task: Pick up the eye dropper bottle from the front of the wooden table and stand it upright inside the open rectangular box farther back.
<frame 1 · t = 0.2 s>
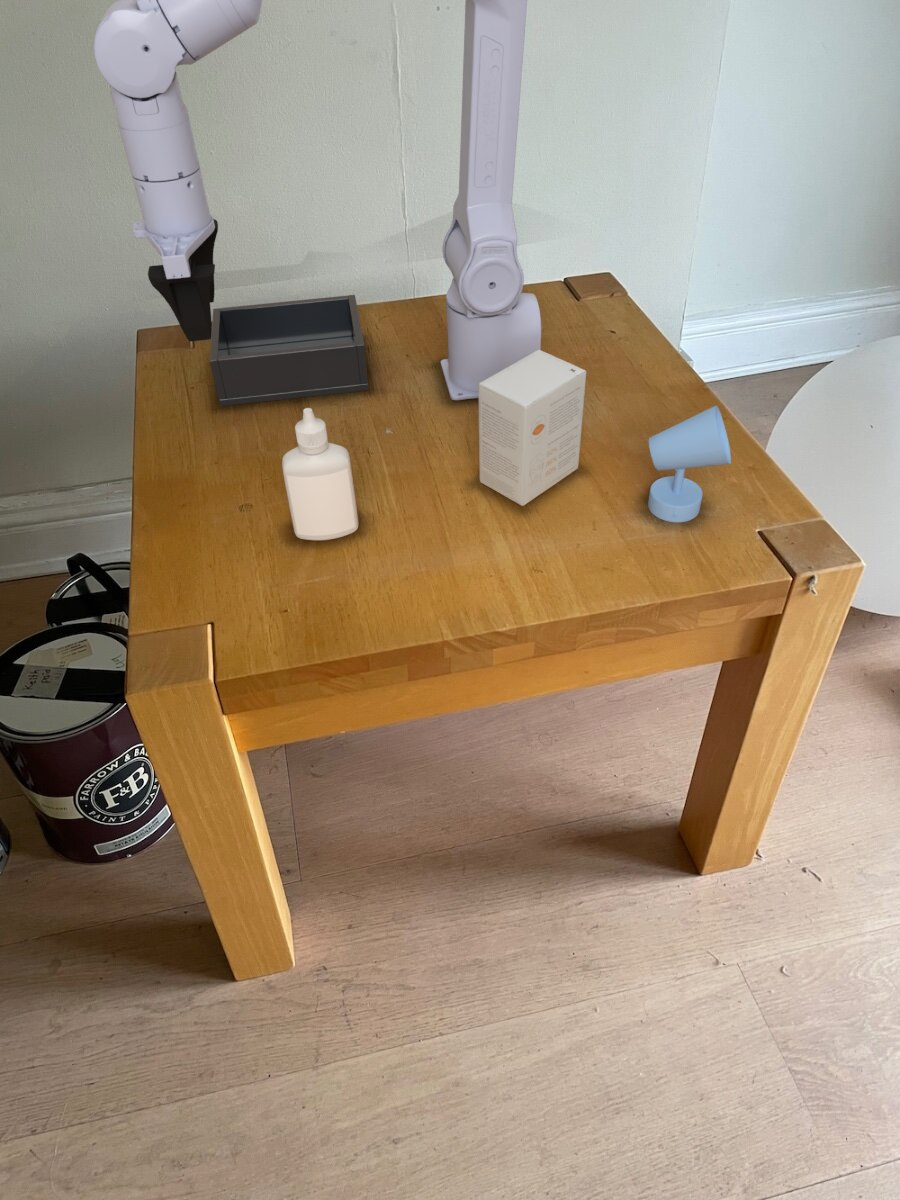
hand: (201, 319, 85), 10 cm above the table, tool pointing down, fingers open, 7 cm apart
open rectangular box: (293, 370, 98), on the table
small box: (528, 478, 83), on the table
eye dropper bottle: (327, 530, 78), on the table
spotlight: (678, 508, 79), on the table
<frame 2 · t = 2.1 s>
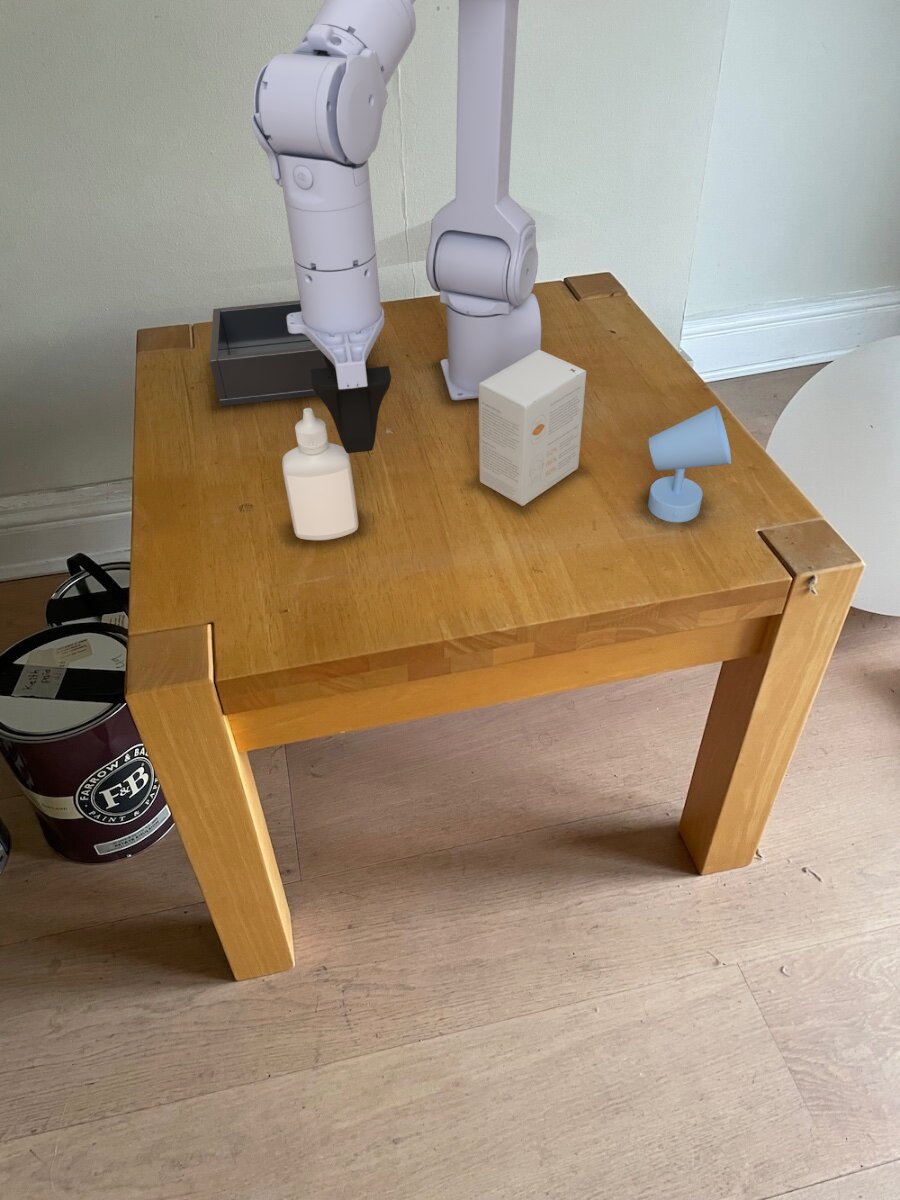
hand: (354, 422, 71), 10 cm above the table, tool pointing down, fingers open, 7 cm apart
nothing on the table moved.
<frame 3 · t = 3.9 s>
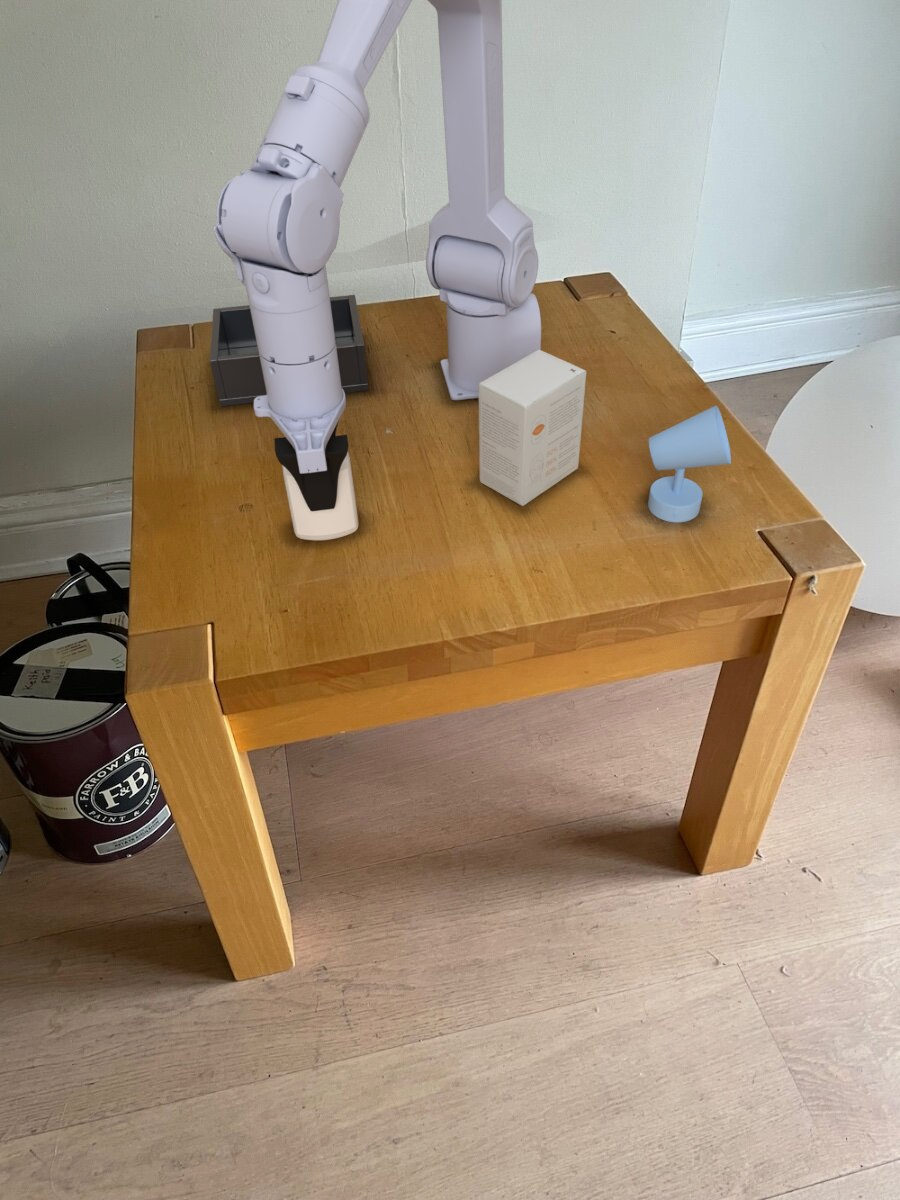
hand: (321, 492, 75), 4 cm above the table, tool pointing down, fingers closed on eye dropper bottle, 3 cm apart
eye dropper bottle: (327, 530, 78), on the table, touching gripper
everything else where it was.
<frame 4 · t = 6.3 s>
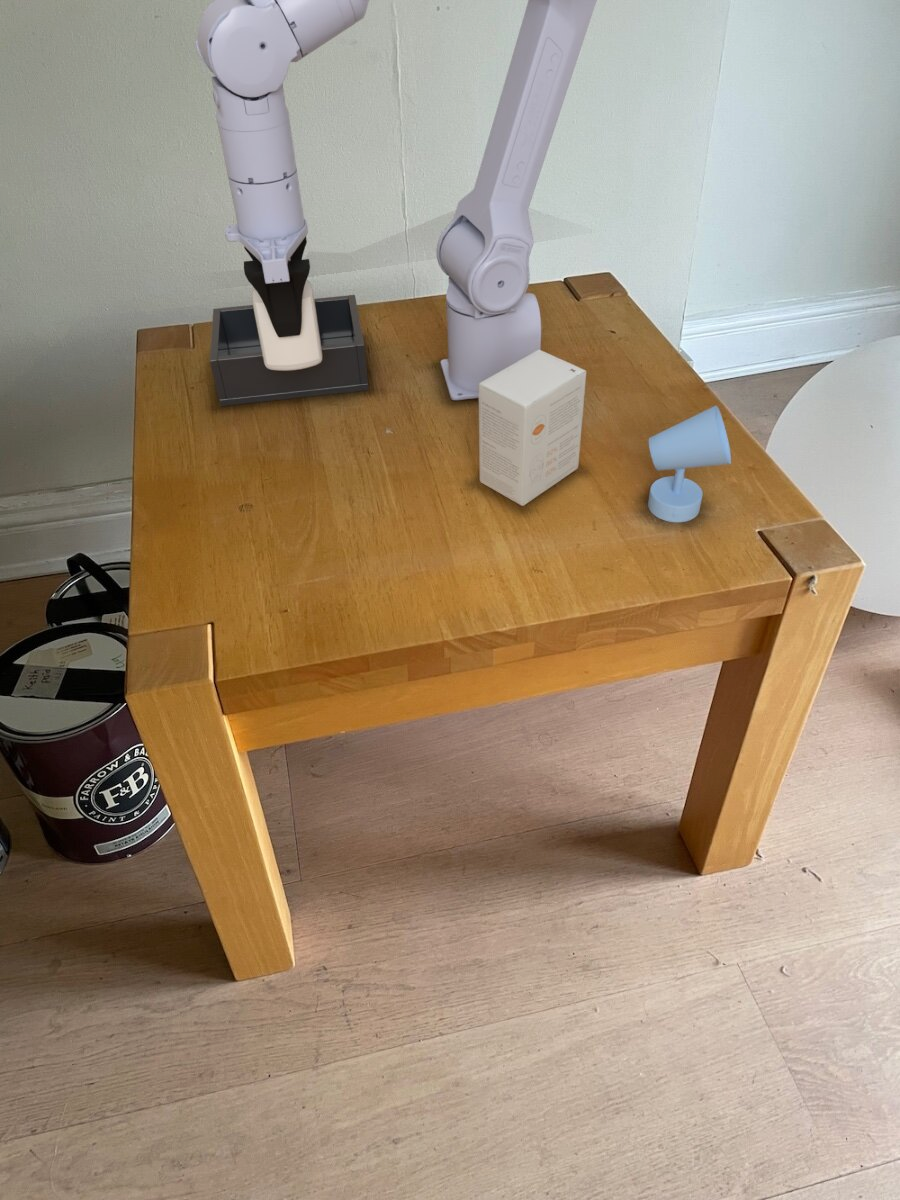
hand: (288, 324, 83), 10 cm above the table, tool pointing down, fingers closed on eye dropper bottle, 3 cm apart
eye dropper bottle: (294, 364, 86), point 6 cm above the table, touching gripper
everything else where it was.
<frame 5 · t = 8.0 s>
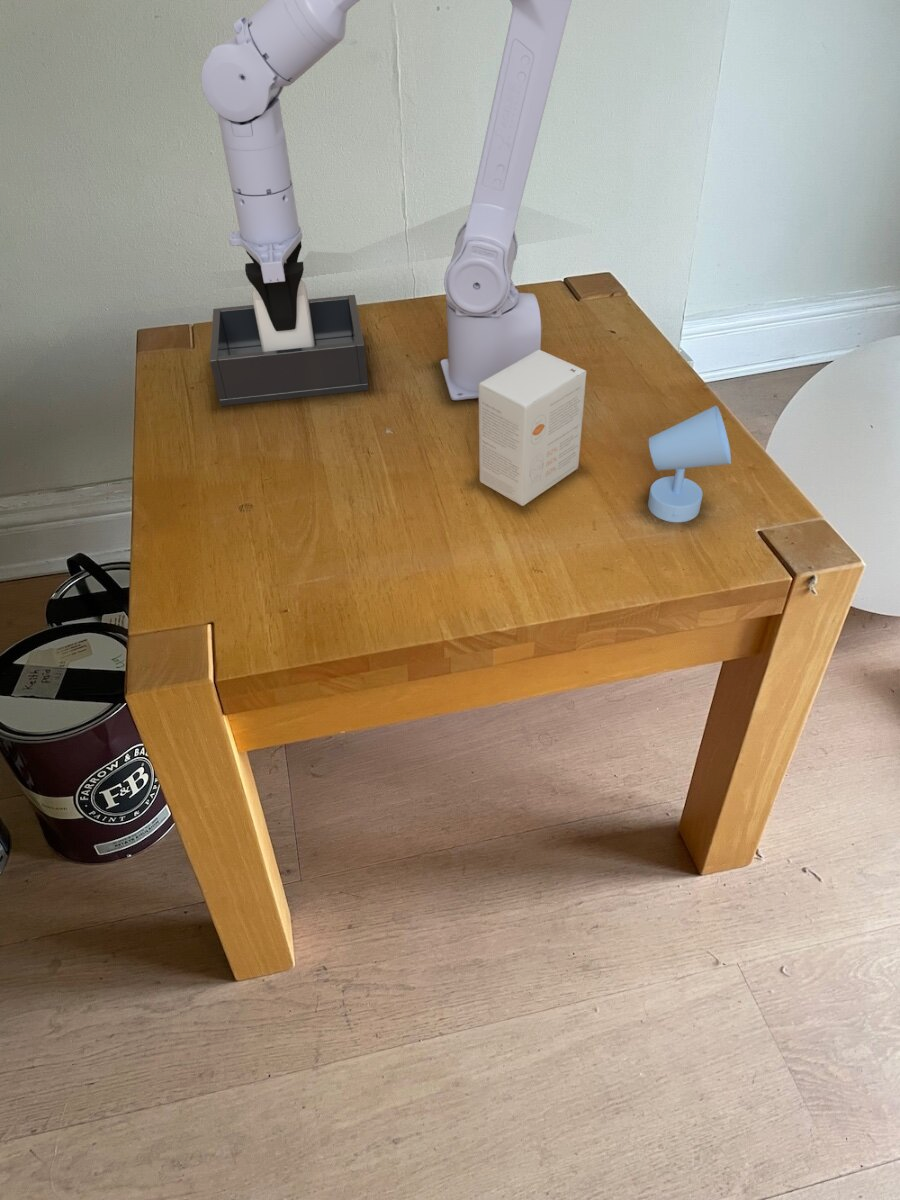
hand: (284, 319, 93), 6 cm above the table, tool pointing down, fingers closed on eye dropper bottle, 3 cm apart
eye dropper bottle: (290, 355, 96), point 2 cm above the table, touching gripper
everything else where it was.
when the fingers open (5 cm above the table, at t = 8.8 s): eye dropper bottle stays where it is, resting on open rectangular box.
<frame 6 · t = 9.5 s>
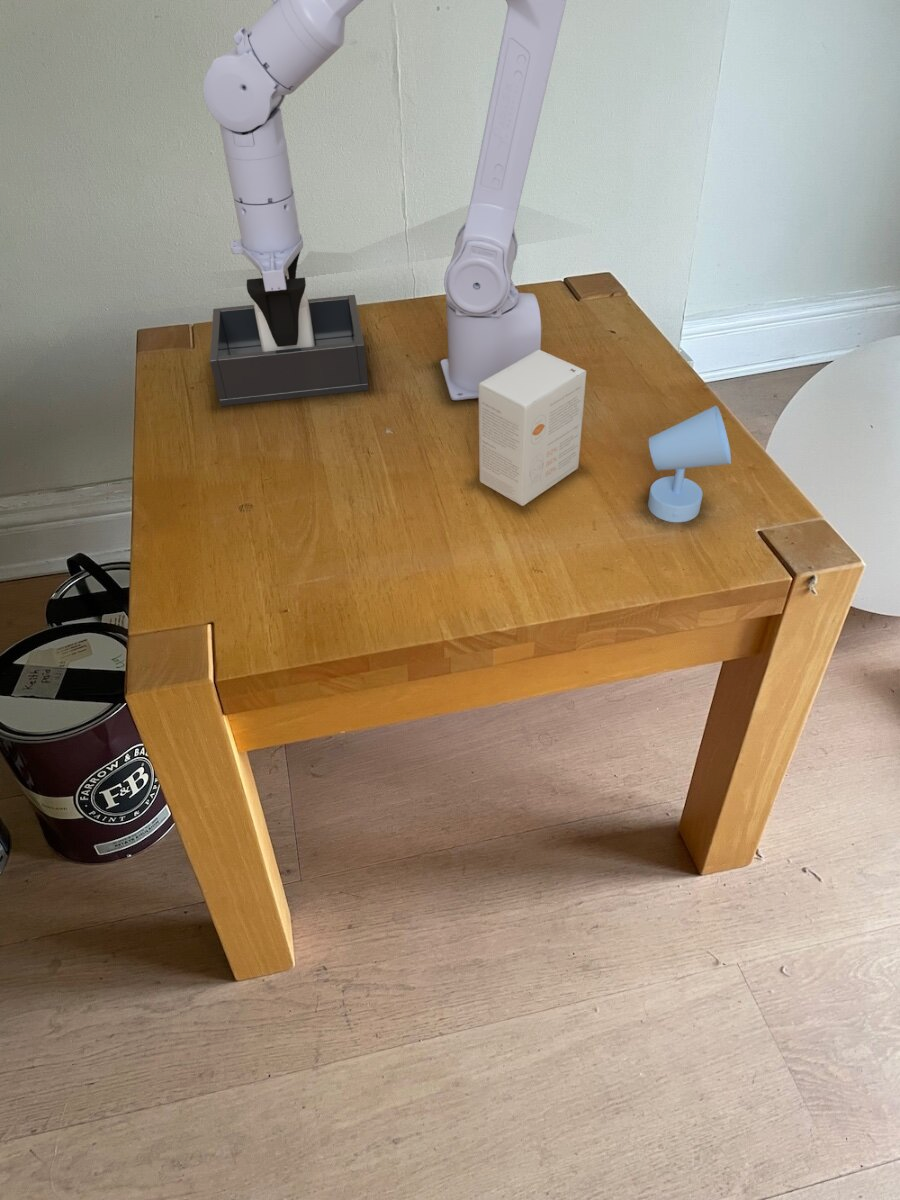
hand: (286, 327, 94), 5 cm above the table, tool pointing down, fingers open, 7 cm apart
eye dropper bottle: (291, 366, 97), point 1 cm above the table, touching open rectangular box
everything else where it was.
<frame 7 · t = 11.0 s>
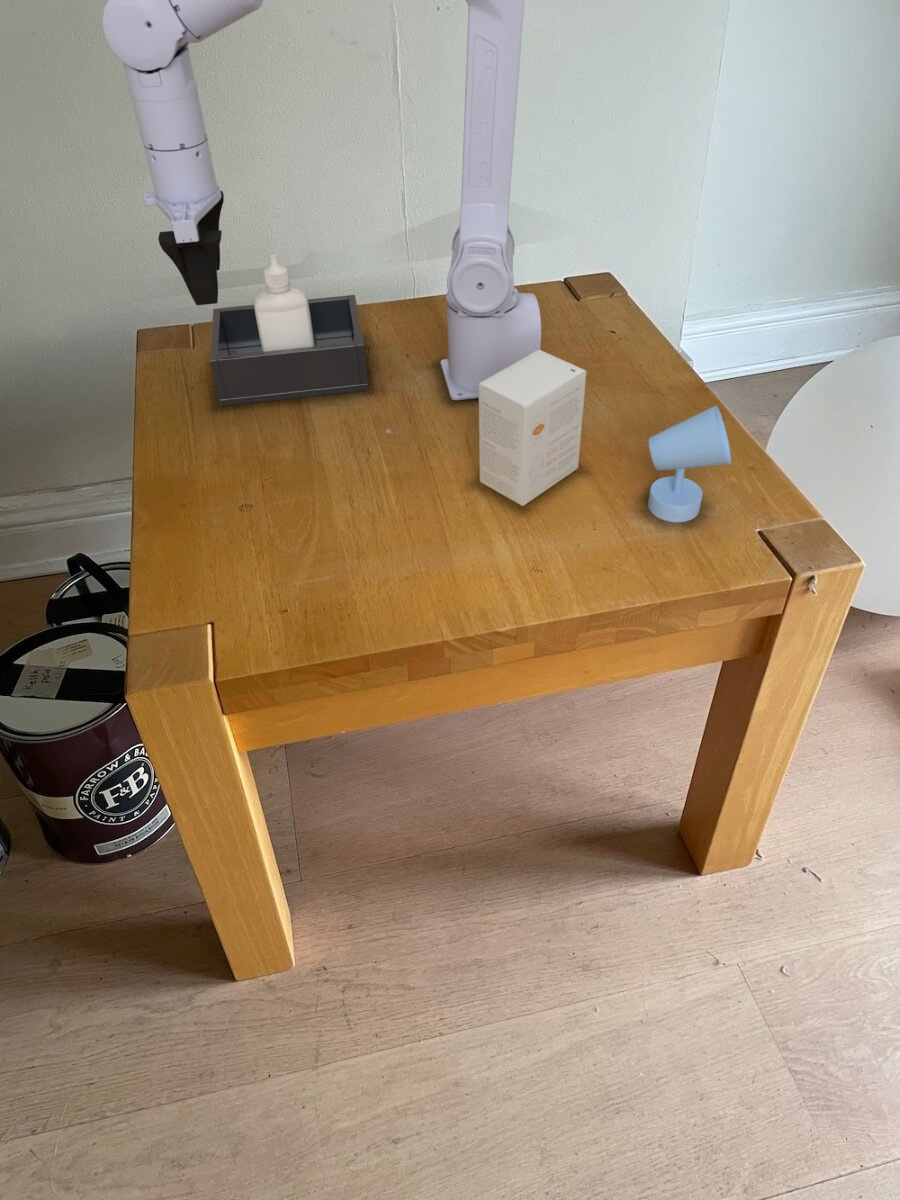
hand: (208, 285, 90), 10 cm above the table, tool pointing down, fingers open, 7 cm apart
nothing on the table moved.
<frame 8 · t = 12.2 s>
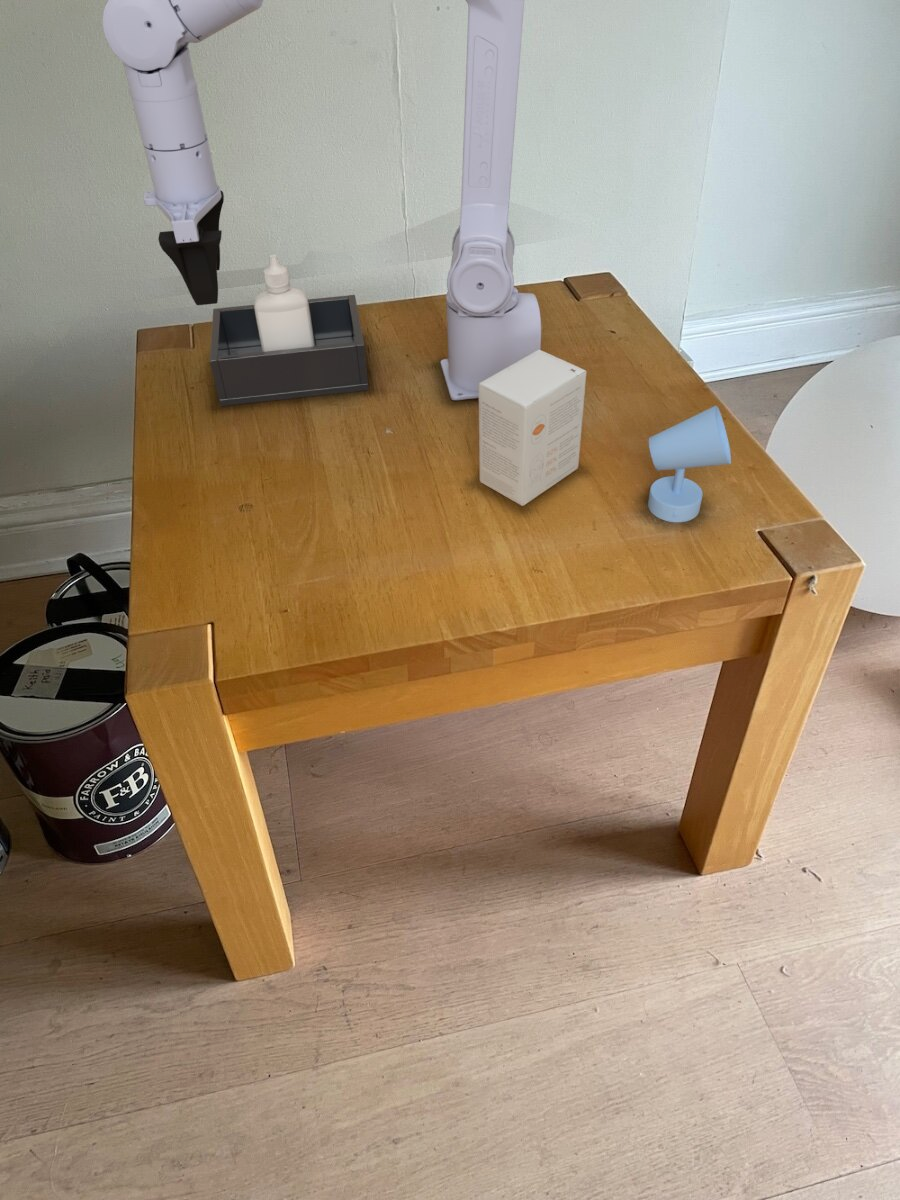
hand: (208, 286, 90), 10 cm above the table, tool pointing down, fingers open, 7 cm apart
nothing on the table moved.
at the end: eye dropper bottle inside the target area in the open rectangular box (0.1 cm from its centre), point 0.6 cm above the open rectangular box's base; eye dropper bottle tilted 0°; the gripper is holding nothing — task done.
